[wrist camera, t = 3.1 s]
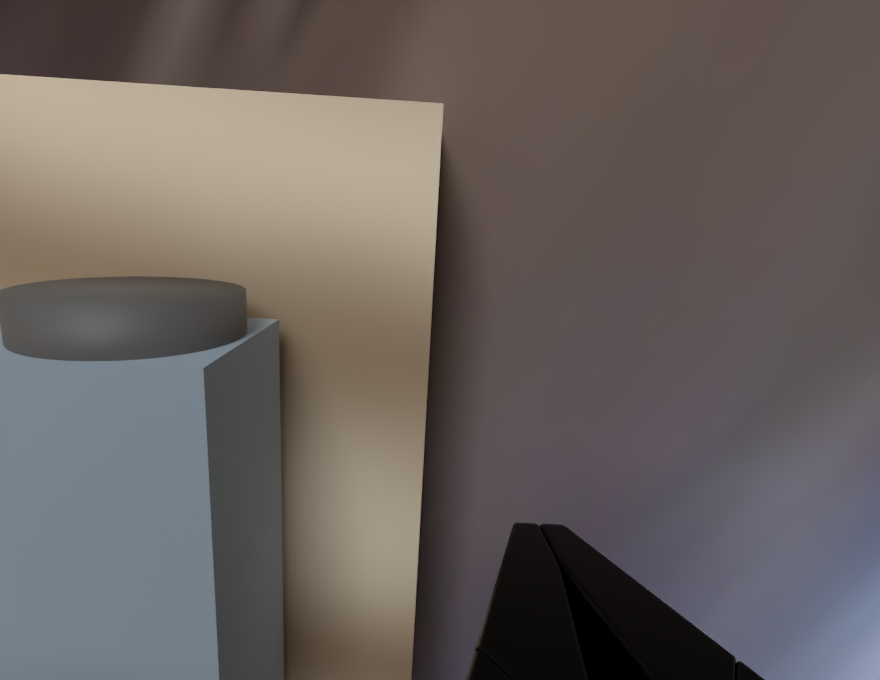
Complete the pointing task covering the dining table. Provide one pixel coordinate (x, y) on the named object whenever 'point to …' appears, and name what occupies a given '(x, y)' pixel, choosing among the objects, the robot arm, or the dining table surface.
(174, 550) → the hinged leg
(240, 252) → the stool seat
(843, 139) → the dining table surface
